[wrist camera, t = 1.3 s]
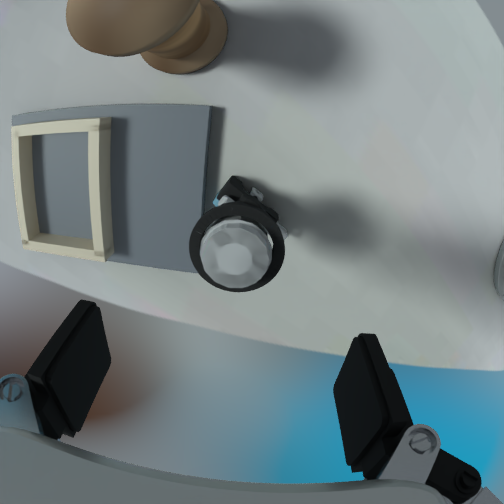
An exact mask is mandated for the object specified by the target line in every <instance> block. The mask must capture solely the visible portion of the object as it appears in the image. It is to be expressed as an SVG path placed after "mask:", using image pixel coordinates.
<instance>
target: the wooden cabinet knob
mask: <svg viewBox="0 0 504 504" xmlns="http://www.w3.org/2000/svg"><path fill="white" fill-rule="evenodd" d="M66 21H67V26H68V29H69V32H70V34H71V36H72V37H73V39H74V40H75V41H76V42H77V43H78V44H79V45H80V46H81V47H83V48H85V49H86V50H89V51H91V52H95V53H99V54H103V55H107V56H114V57H124V56H131V55H135V54H139V53H140V54H141V56H142V58H143V59H144V60H145V61H146V62H147V63H148V64H149V65H150V66H152V67H153V68H155V69H157V70H160V71H163V72H166V73H170V74H187V73H191V72H195V71H197V70H200V69H202V68H203V67H205V66H207V65H208V64H210V63H211V62H212V61H213V60H214V59H215V58H216V57H217V56H218V55H219V53H220V52H221V51H222V49H223V47H224V45H225V42H226V39H227V33H228V27H227V22H226V19H225V16H224V14H223V12H222V10H221V9H220V7H219V6H218V5H217V4H216V3H215V2H213V1H212V0H68V2H67V8H66Z"/></svg>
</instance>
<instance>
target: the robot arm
mask: <svg viewBox="0 0 504 504" xmlns="http://www.w3.org/2000/svg"><path fill="white" fill-rule="evenodd" d="M494 282H495V288H496V291H497V293H498V295H499V296H500V297H501V298H502V299H503V300H504V240H503V242H502V245H501V248H500V250H499V253H498V257H497V260H496V265H495V271H494ZM110 364H111V356H110V352H109V348H108V344H107V340H106V335H105V331H104V326H103V321H102V316H101V311H100V308H99V307H97V306H96V303H95V302H91V301H86V300H80V301H79V302H78V303H77V304H76V306H75V307H74V308H73V310H72V311H71V312H70V313H69V315H68V316H67V317H66V319H65V320H64V321H63V323H62V324H61V326H60V327H59V328H58V329H57V331H56V332H55V333H54V335H53V336H52V338H51V339H50V340H49V342H48V343H47V345H46V346H45V347H44V349H43V350H42V352H41V353H40V355H39V356H38V358H37V359H36V361H35V362H34V363H33V365H32V366H31V368H30V369H29V371H28V372H27V374H26V375H25V377H23V376H21V375H18V374H8V375H6V376H4V377H2V378H1V379H0V504H503V503H502V502H501V501H500V500H499V499H498V498H497V497H496V496H495V495H494V494H493V493H492V492H491V491H490V490H489V489H488V488H487V487H484V488H482V487H481V477H480V474H479V472H478V471H477V470H476V469H475V468H474V467H472V466H471V465H468V464H467V463H465V462H463V461H461V460H459V459H458V458H456V457H454V456H453V455H451V454H449V453H447V452H446V451H444V450H442V449H440V445H441V443H440V438H439V436H438V434H437V433H436V431H435V430H434V429H432V428H431V427H429V426H427V425H424V424H417V425H413V422H412V419H411V416H410V414H409V411H408V408H407V406H406V403H405V400H404V397H403V395H402V392H401V390H400V387H399V384H398V382H397V379H396V377H395V374H394V372H393V370H392V369H390V368H389V365H388V363H387V360H386V358H385V355H384V353H383V350H382V348H381V346H380V343H379V341H378V338H377V336H376V335H375V334H366V333H361V334H359V335H358V337H354V339H353V341H352V343H351V346H350V348H349V351H348V353H347V356H346V358H345V361H344V363H343V365H342V368H341V370H340V372H339V375H338V377H337V379H336V382H335V384H334V389H333V391H334V392H333V393H334V398H335V403H336V408H337V413H338V419H339V424H340V429H341V435H342V440H343V446H344V452H345V458H346V463H347V465H348V466H351V470H352V473H353V472H362V471H363V476H364V477H365V478H364V480H362V481H349V482H335V483H313V484H312V483H311V484H310V483H309V484H271V483H251V482H237V481H226V480H216V479H208V478H201V477H194V476H188V475H181V474H176V473H171V472H165V471H160V470H155V469H151V468H147V467H142V466H138V465H134V464H130V463H126V462H122V461H119V460H115V459H112V458H108V457H105V456H102V455H98V454H95V453H92V452H89V451H86V450H83V449H80V448H77V447H74V446H71V445H68V444H65V443H63V442H61V441H60V438H61V435H62V434H65V435H68V436H70V437H74V435H75V433H76V431H77V432H79V431H80V430H81V428H82V426H83V423H84V421H85V419H86V417H87V414H88V412H89V410H90V408H91V405H92V403H93V401H94V399H95V397H96V394H97V392H98V390H99V388H100V386H101V384H102V381H103V379H104V377H105V375H106V373H107V371H108V369H109V367H110Z"/></svg>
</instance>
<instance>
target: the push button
mask: <svg viewBox="0 0 504 504" xmlns="http://www.w3.org/2000/svg"><path fill="white" fill-rule="evenodd" d="M257 192H258V193H259V194H258V193H257ZM262 201H263V194H262V193H261V192H259V191H258V190H257V189H255V188H254V187H252V191H251V193H248V192H247V191H246V190H244V189H243V185H242V182H241V181H240V180H239V179H237V178H236V177H235V176H231V178H230V179H229V180H228V181H227V183H226V184H225V185H224V186H223V188H222V189H221V190H220V191H219V193H218V194H217V195H216V197H215V199H214V201H213V204H214V205H215V206H216V207H215V208H213V209H211V210H209V211H208V212H206V213H205V214H204V215H203V216H202V217H201V218H200V219H199V220H198V222H197V223H196V225H195V226H194V228H193V230H192V232H191V235H190V240H189V254H190V258H191V261H192V263H193V265H194V267H195V269H196V270H197V272H198V273H199V274H200V276H201V277H202V278H203V279H205V280H206V281H207V282H208V283H210V284H211V285H213V286H215V287H217V288H220V289H223V290H226V291H231V292H246V291H251V290H255V289H258V288H260V287H262V286H264V285H265V284H267V283H268V282H270V281H271V280H272V279H273V278H274V277H275V276H276V274H277V273H278V272H279V270H280V268H281V266H282V264H283V260H284V255H285V245H284V240H285V239H286V238H287V237H288V234H287V230H286V229H285V228H284V227H282V226H281V225H280V224H279V223H278V222H279V221H278V220H279V217H278V214H277V213H276V212H275V211H274V210H273V209H271V208H268V207H266V206H265V205H264V204H262V203H261V202H262ZM212 222H213V225H212V227H211V228H210V229H209V230H208V231H207V233H206V234H205V236H204V232H205V229H206V228H207V227H208V226H209V225H210V224H211V223H212ZM281 229H282V230H281ZM267 233H268V234H269V235H270V236H271V238H272V241H273V248H272V247H271V244H270V242H269V240H268V237H267Z"/></svg>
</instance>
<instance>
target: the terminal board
mask: <svg viewBox="0 0 504 504" xmlns="http://www.w3.org/2000/svg"><path fill="white" fill-rule="evenodd" d="M211 115H212V106H205V105H183V104H122V105H100V106H86V107H74V108H64V109H55V110H46V111H39V112H32V113H25V114H19V115H13V116H12V127H11V137H12V163H13V177H14V188H15V198H16V206H17V213H18V220H19V226H20V232H21V238H22V243H23V248H24V249H27V250H33V251H39V252H44V253H50V254H56V255H62V256H68V257H74V258H81V259H87V260H93V261H100V262H106V261H113V262H119V263H126V264H133V265H140V266H147V267H154V268H161V269H169V270H176V271H184V272H191V273H198V272H197V270H196V269H195V267H194V265H193V263H192V261H191V258H190V254H189V240H190V235H191V232H192V230H193V228H194V226H195V225H196V223H197V222H198V220H199V219H200V218H201V217H202V216H203V215H204V201H205V186H206V172H207V159H208V147H209V136H210V125H211Z"/></svg>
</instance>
